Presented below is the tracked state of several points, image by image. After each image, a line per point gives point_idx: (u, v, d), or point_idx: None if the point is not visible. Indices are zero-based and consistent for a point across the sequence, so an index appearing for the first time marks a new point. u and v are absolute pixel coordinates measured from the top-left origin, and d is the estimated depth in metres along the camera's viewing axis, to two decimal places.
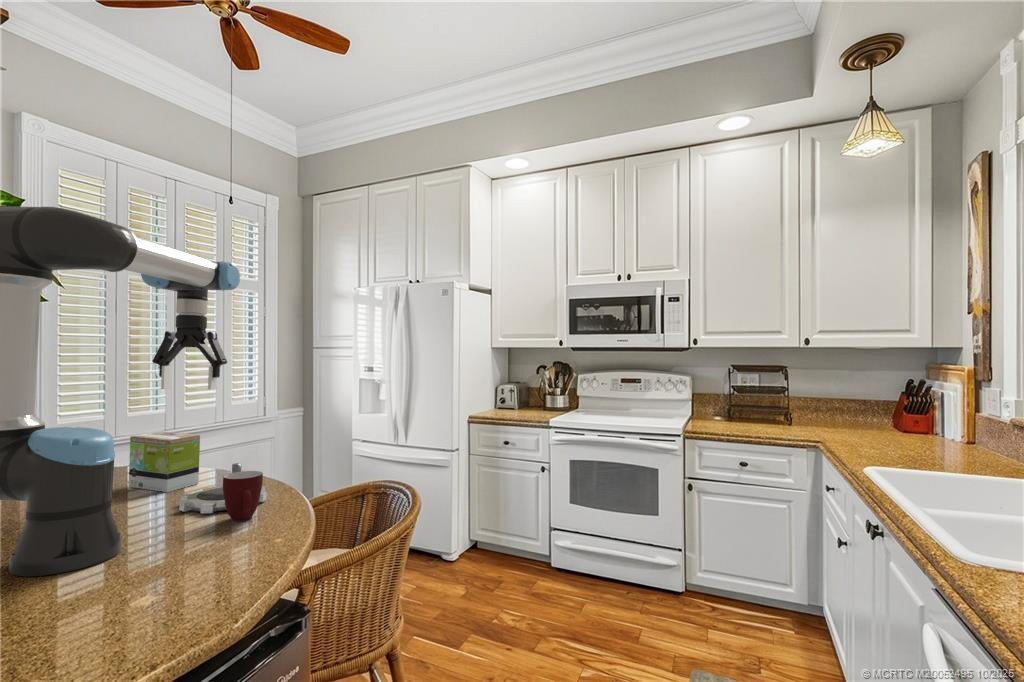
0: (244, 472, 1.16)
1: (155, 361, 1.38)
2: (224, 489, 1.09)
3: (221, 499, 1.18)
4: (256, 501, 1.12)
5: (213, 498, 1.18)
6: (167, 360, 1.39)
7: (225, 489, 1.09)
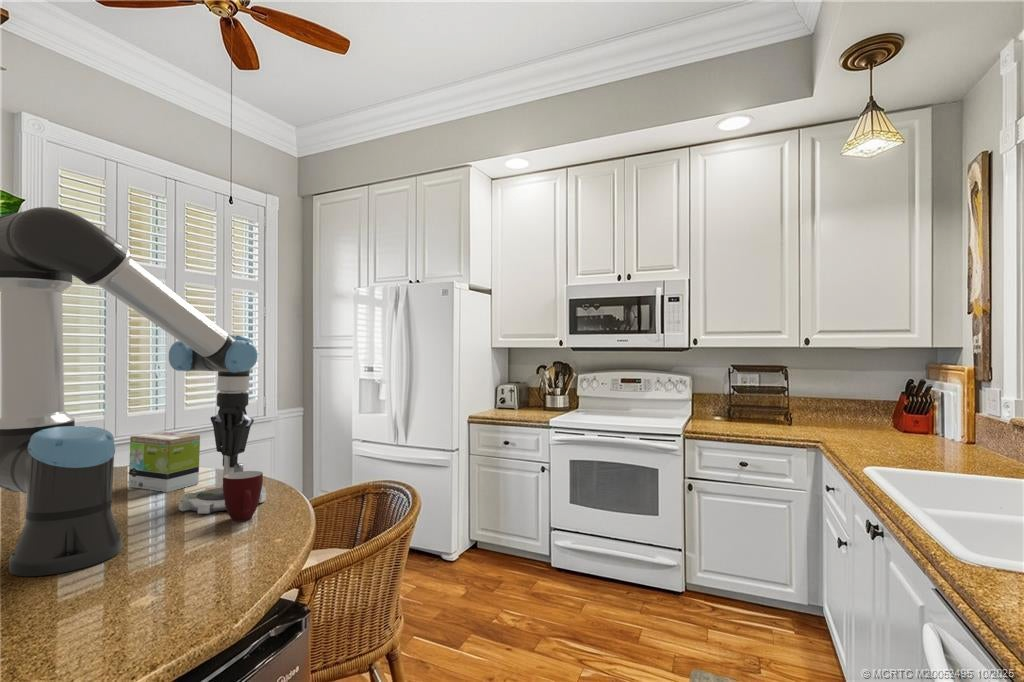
0: (244, 472, 1.16)
1: (219, 449, 1.31)
2: (224, 489, 1.09)
3: (219, 499, 1.18)
4: (256, 501, 1.12)
5: (211, 498, 1.18)
6: (227, 446, 1.31)
7: (225, 489, 1.09)
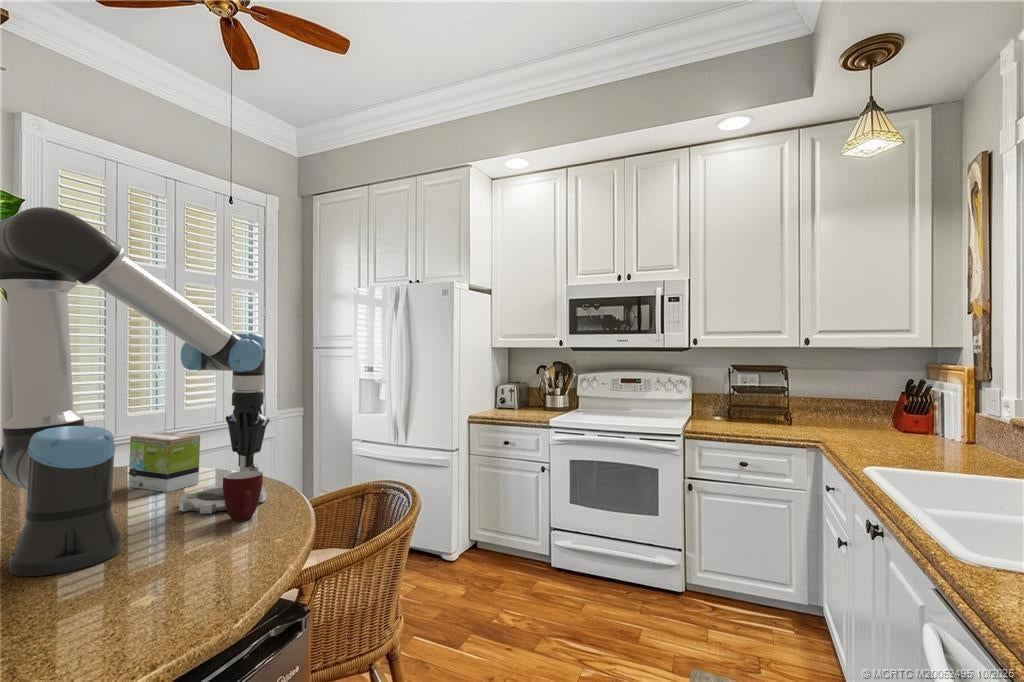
0: (244, 472, 1.16)
1: (234, 449, 1.30)
2: (224, 489, 1.09)
3: (202, 499, 1.18)
4: (256, 501, 1.12)
5: (201, 496, 1.20)
6: (242, 446, 1.30)
7: (225, 489, 1.09)
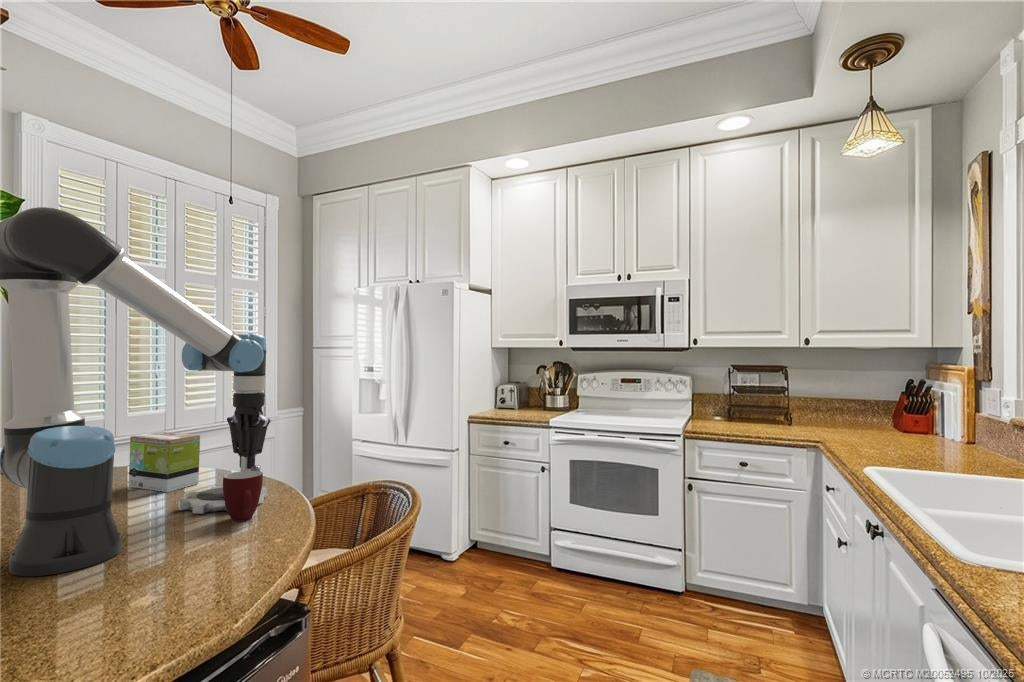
0: (244, 472, 1.16)
1: (235, 450, 1.29)
2: (224, 489, 1.09)
3: (199, 498, 1.18)
4: (256, 501, 1.12)
5: (200, 495, 1.20)
6: (243, 447, 1.29)
7: (225, 489, 1.09)
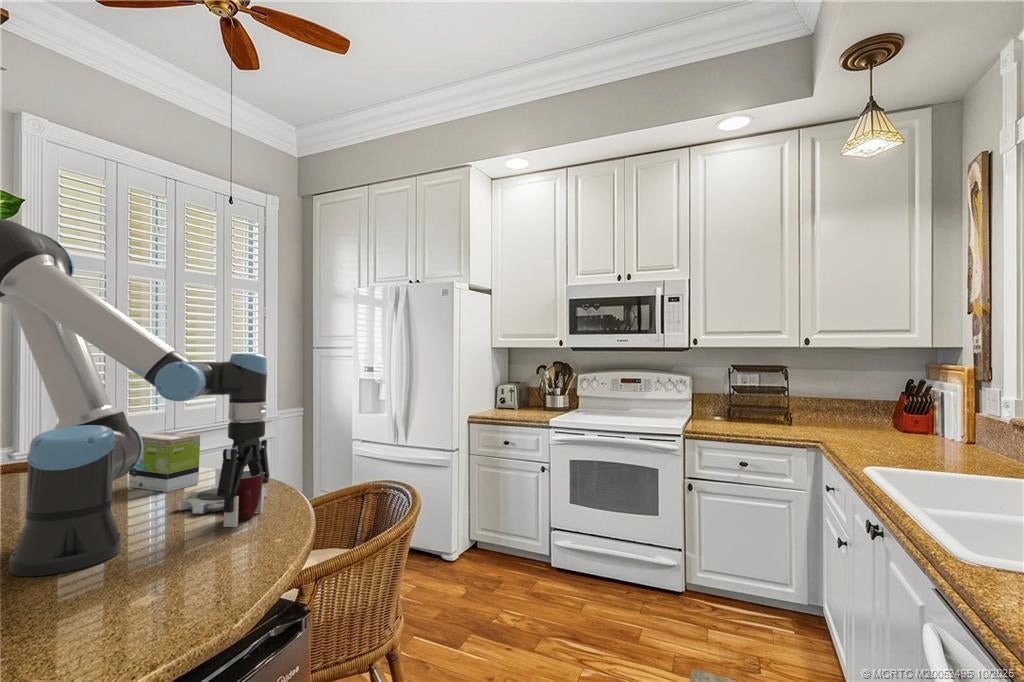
0: (244, 472, 1.16)
1: None
2: None
3: (199, 498, 1.18)
4: (256, 501, 1.12)
5: (200, 495, 1.20)
6: None
7: None
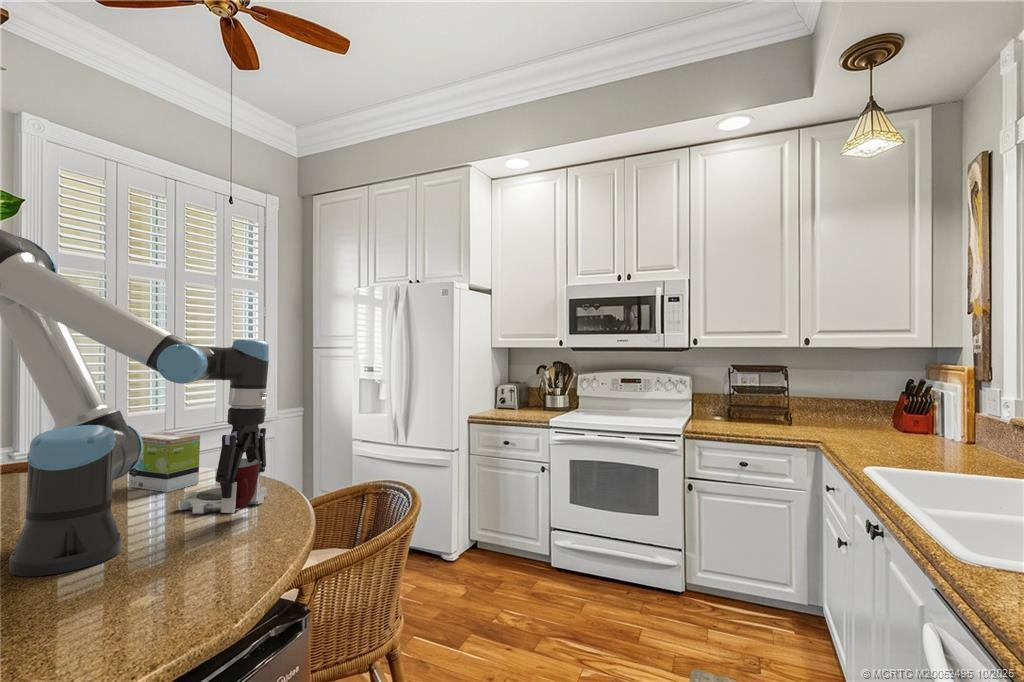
0: None
1: None
2: None
3: (199, 498, 1.18)
4: (253, 489, 1.11)
5: (200, 495, 1.20)
6: None
7: None
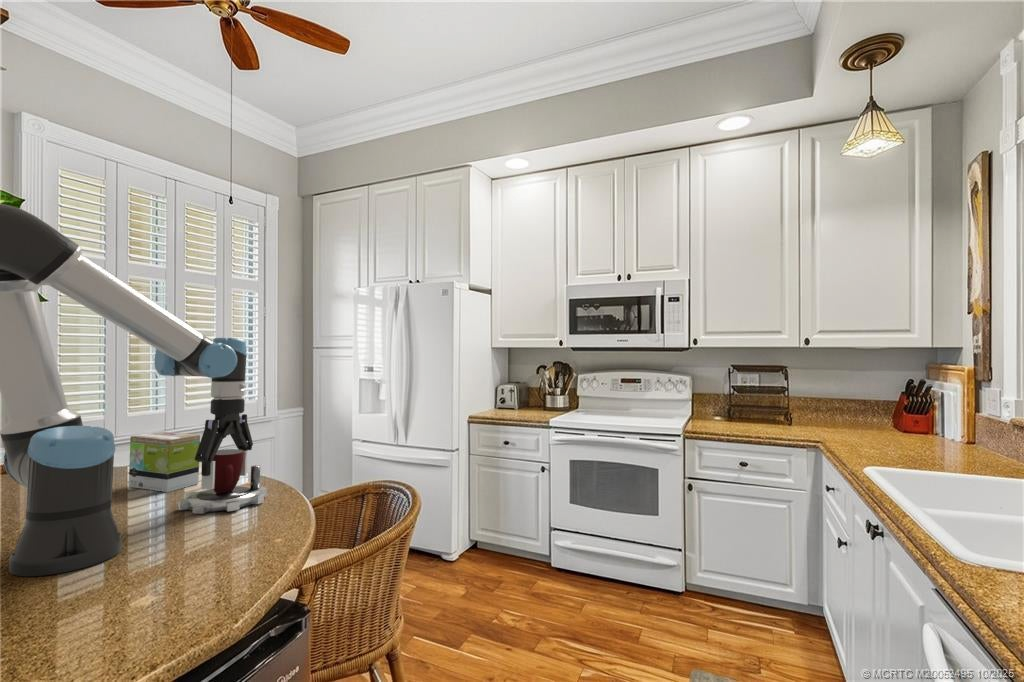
0: (227, 450, 1.28)
1: None
2: None
3: (199, 498, 1.18)
4: (237, 476, 1.24)
5: (200, 495, 1.20)
6: (238, 445, 1.30)
7: None
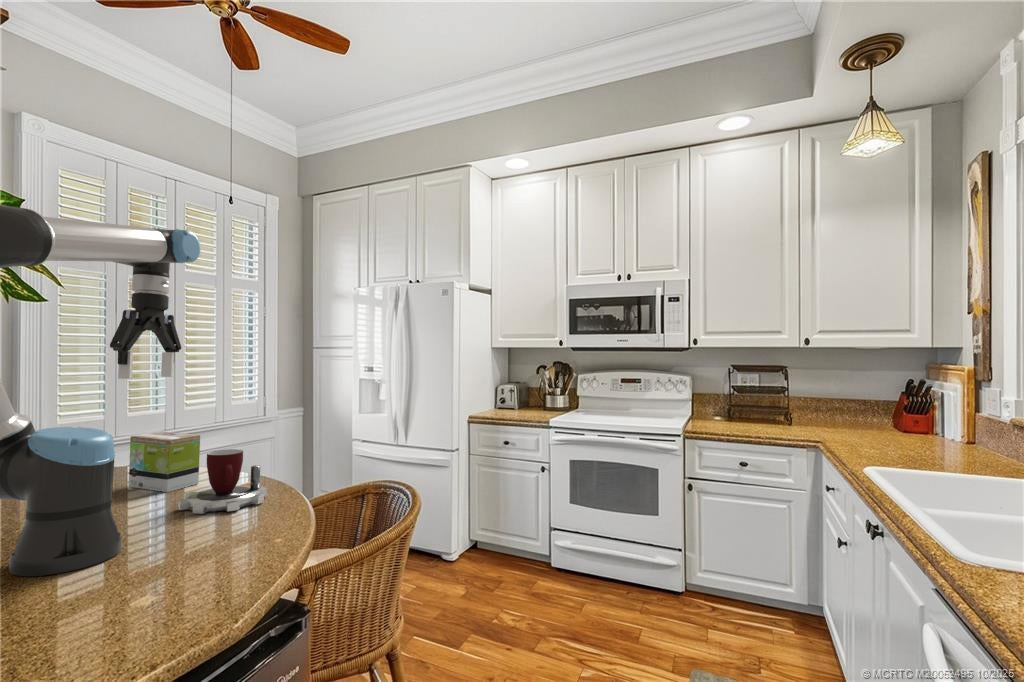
0: (226, 450, 1.28)
1: None
2: (208, 464, 1.21)
3: (199, 498, 1.18)
4: (237, 475, 1.24)
5: (200, 495, 1.20)
6: (164, 346, 1.29)
7: (209, 464, 1.21)
